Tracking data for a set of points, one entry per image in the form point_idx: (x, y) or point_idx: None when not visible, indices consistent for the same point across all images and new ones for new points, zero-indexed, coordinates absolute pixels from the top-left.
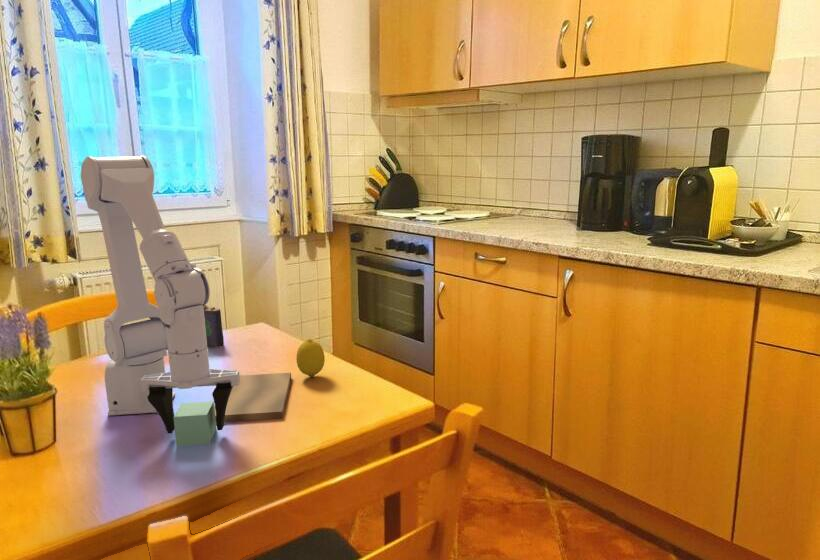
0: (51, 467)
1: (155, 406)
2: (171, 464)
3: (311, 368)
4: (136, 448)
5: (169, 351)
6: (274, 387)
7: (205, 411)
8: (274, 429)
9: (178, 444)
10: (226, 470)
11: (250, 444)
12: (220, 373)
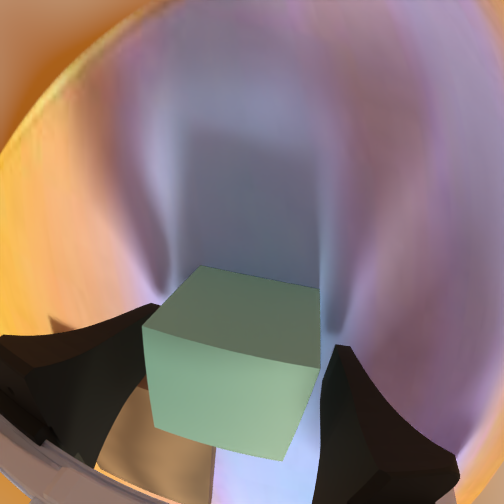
0: None
1: (413, 434)
2: (328, 143)
3: None
4: (445, 313)
5: None
6: (103, 446)
7: (157, 362)
8: (55, 285)
9: (312, 290)
10: (134, 64)
11: (85, 218)
12: (1, 471)
